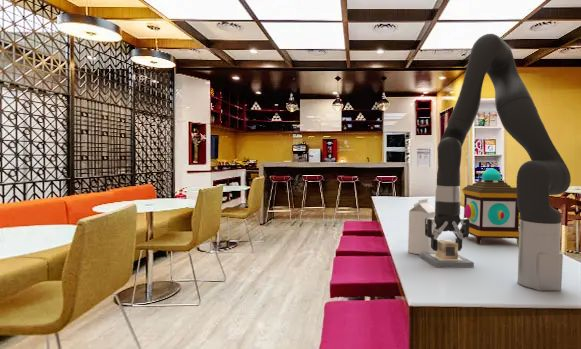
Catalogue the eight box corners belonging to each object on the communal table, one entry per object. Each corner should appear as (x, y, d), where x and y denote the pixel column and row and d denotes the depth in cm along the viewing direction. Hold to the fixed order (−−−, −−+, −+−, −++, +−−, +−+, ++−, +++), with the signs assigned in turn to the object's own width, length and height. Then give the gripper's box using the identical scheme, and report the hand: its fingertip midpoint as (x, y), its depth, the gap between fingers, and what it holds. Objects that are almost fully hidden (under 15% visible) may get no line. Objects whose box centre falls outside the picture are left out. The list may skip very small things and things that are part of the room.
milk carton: (435, 252, 136) (437, 199, 135) (427, 256, 130) (428, 201, 130) (416, 249, 140) (417, 198, 140) (407, 252, 135) (409, 199, 134)
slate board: (473, 267, 118) (474, 262, 118) (436, 267, 117) (436, 262, 117) (454, 257, 130) (454, 252, 130) (420, 257, 129) (420, 252, 129)
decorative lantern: (475, 245, 148) (478, 168, 147) (455, 235, 168) (457, 167, 167) (527, 246, 147) (530, 169, 146) (501, 236, 167) (503, 167, 166)
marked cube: (450, 255, 126) (450, 240, 126) (457, 259, 121) (458, 243, 121) (435, 255, 126) (435, 240, 126) (442, 259, 121) (443, 243, 121)
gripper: (463, 198, 127) (461, 247, 128) (421, 198, 126) (420, 247, 127) (475, 201, 119) (473, 253, 120) (431, 200, 119) (429, 253, 119)
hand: (446, 250), depth 123 cm, fingers open, 7 cm apart
